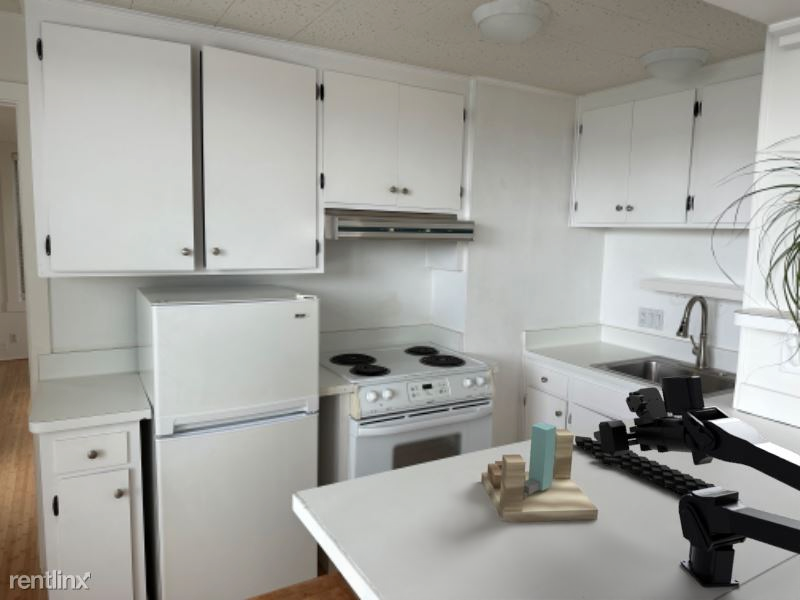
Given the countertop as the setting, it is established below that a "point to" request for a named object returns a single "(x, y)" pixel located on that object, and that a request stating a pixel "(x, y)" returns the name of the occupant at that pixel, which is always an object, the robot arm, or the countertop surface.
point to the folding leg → (541, 457)
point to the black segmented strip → (646, 468)
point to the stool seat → (548, 504)
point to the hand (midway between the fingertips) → (612, 432)
